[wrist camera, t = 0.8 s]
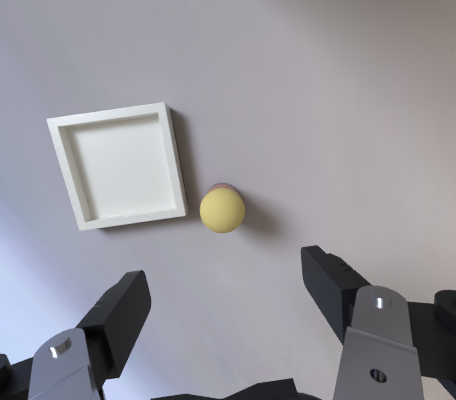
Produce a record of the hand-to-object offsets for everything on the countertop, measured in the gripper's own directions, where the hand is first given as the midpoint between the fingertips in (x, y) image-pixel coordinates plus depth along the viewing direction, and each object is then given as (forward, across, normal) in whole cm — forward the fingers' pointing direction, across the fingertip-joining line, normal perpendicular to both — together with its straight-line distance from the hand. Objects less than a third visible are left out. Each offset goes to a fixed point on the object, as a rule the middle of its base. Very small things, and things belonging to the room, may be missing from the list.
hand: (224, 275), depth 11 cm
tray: (+20, +12, -6) cm, 24 cm away
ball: (+13, 0, 0) cm, 13 cm away
